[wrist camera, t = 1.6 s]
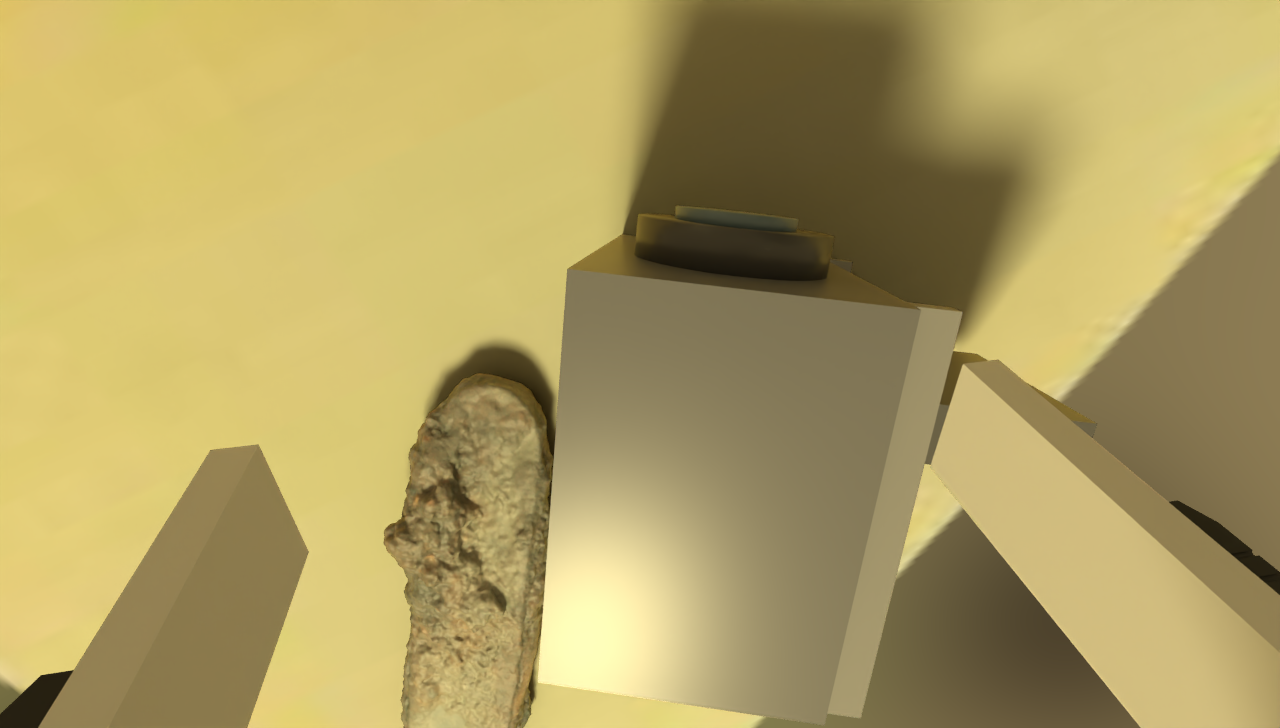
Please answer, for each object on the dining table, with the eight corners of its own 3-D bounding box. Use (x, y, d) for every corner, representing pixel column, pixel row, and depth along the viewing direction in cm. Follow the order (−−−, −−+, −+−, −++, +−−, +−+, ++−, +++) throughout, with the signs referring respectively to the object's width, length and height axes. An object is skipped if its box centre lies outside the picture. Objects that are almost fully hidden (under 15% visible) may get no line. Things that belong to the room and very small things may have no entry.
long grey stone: (402, 769, 49) (527, 786, 49) (373, 839, 44) (512, 858, 44) (416, 354, 38) (578, 379, 38) (378, 386, 33) (565, 414, 33)
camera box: (626, 195, 34) (572, 200, 19) (854, 220, 34) (988, 246, 18) (598, 490, 39) (537, 682, 24) (796, 516, 39) (864, 731, 23)
